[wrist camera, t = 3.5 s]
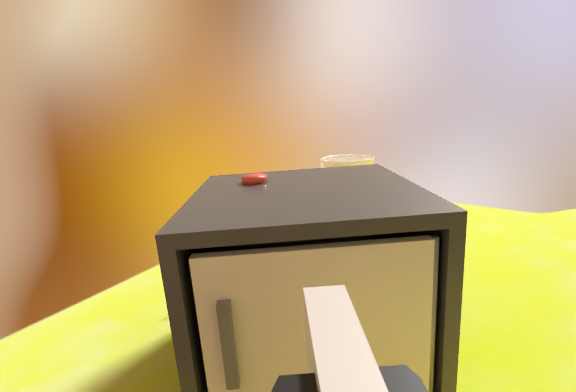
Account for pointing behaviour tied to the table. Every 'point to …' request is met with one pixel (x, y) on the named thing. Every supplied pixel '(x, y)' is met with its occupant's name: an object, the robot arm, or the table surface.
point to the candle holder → (346, 160)
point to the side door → (290, 306)
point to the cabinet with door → (309, 240)
